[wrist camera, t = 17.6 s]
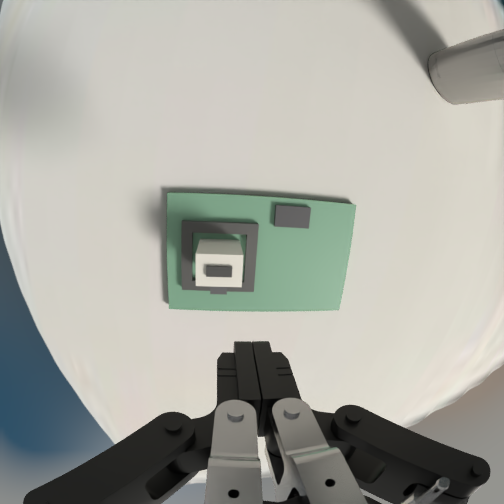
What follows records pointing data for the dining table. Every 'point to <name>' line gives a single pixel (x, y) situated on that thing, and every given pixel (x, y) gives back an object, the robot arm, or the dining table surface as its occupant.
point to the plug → (219, 264)
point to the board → (261, 251)
